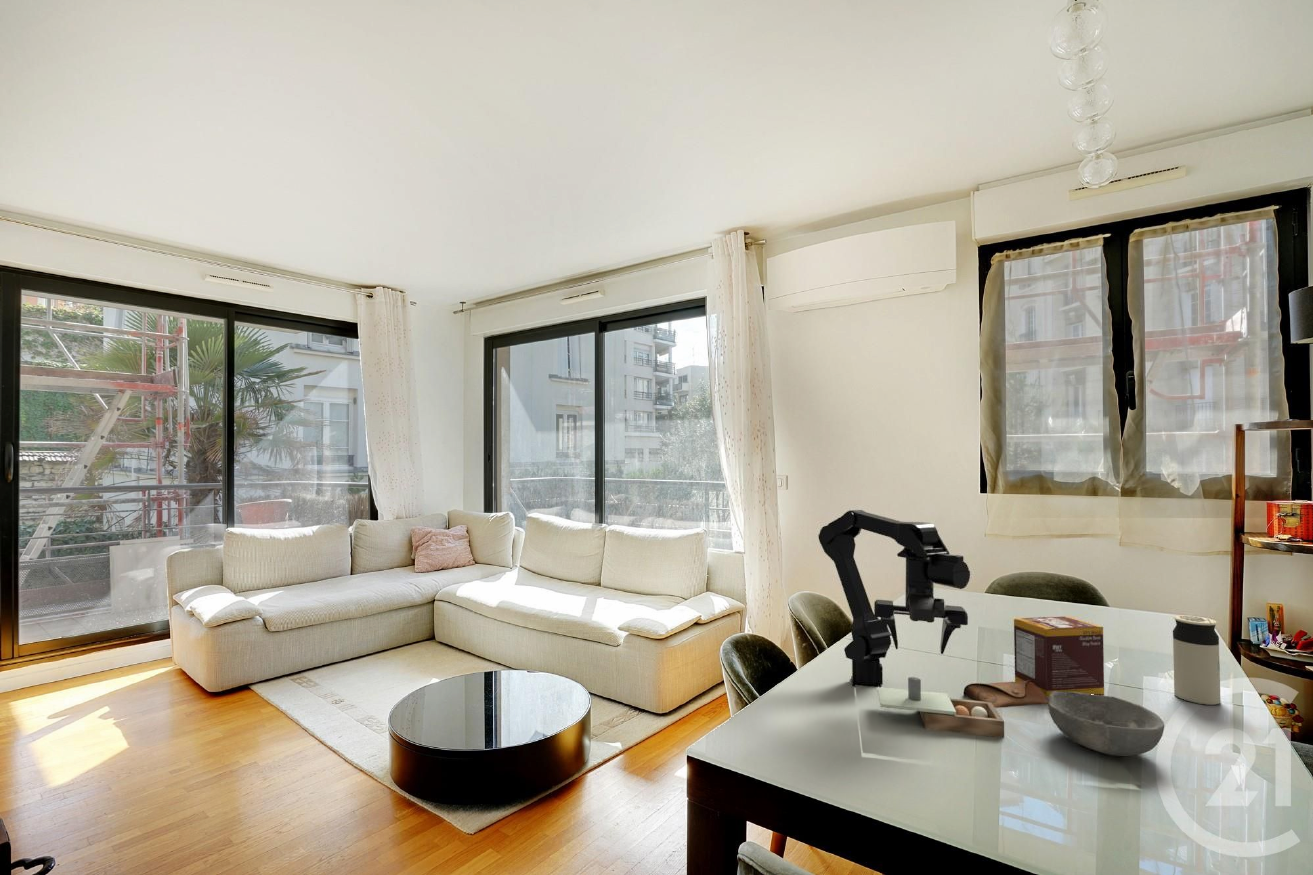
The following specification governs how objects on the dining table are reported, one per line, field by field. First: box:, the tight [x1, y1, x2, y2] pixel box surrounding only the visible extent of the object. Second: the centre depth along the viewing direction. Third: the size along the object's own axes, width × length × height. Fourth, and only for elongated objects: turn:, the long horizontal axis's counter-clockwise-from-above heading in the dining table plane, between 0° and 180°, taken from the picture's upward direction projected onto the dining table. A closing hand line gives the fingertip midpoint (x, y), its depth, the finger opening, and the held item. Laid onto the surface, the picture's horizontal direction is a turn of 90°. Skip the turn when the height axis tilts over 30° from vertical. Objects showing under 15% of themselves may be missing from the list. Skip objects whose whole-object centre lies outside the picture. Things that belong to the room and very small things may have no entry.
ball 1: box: [955, 706, 969, 716], centre depth 128 cm, size 3×3×3 cm
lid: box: [876, 676, 956, 715], centre depth 130 cm, size 14×10×5 cm
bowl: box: [1047, 691, 1165, 757], centre depth 117 cm, size 18×18×8 cm
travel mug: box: [1172, 614, 1222, 706], centre depth 143 cm, size 8×8×18 cm
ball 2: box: [971, 707, 988, 718], centre depth 128 cm, size 3×3×3 cm
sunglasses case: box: [963, 680, 1048, 709], centre depth 141 cm, size 18×7×7 cm
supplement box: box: [1013, 615, 1105, 697], centre depth 150 cm, size 10×15×16 cm
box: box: [919, 697, 1005, 738], centre depth 128 cm, size 14×10×4 cm
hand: (919, 651), depth 139 cm, fingers open, 9 cm apart
